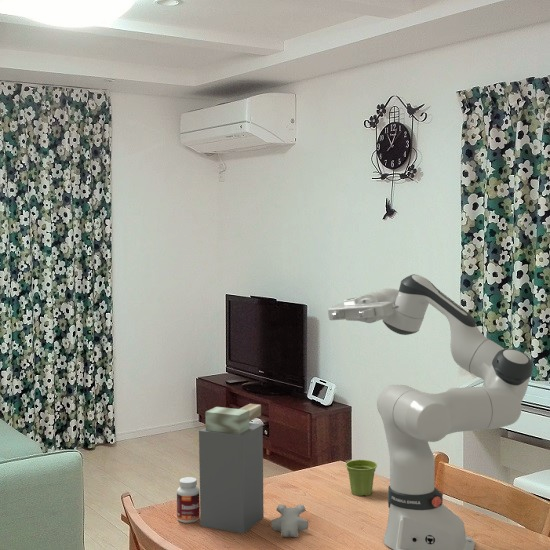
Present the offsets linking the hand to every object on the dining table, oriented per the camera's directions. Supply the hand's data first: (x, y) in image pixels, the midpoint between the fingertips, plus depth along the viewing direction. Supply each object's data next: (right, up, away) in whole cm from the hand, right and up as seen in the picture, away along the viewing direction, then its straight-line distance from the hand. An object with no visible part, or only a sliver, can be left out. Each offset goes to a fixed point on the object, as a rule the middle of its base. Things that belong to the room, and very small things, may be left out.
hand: (347, 315), depth 230 cm
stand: (-32, -55, -14) cm, 65 cm away
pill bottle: (-45, -55, -12) cm, 72 cm away
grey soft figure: (-17, -56, -19) cm, 61 cm away
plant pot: (+5, -53, +7) cm, 54 cm away
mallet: (-31, -29, -11) cm, 44 cm away
